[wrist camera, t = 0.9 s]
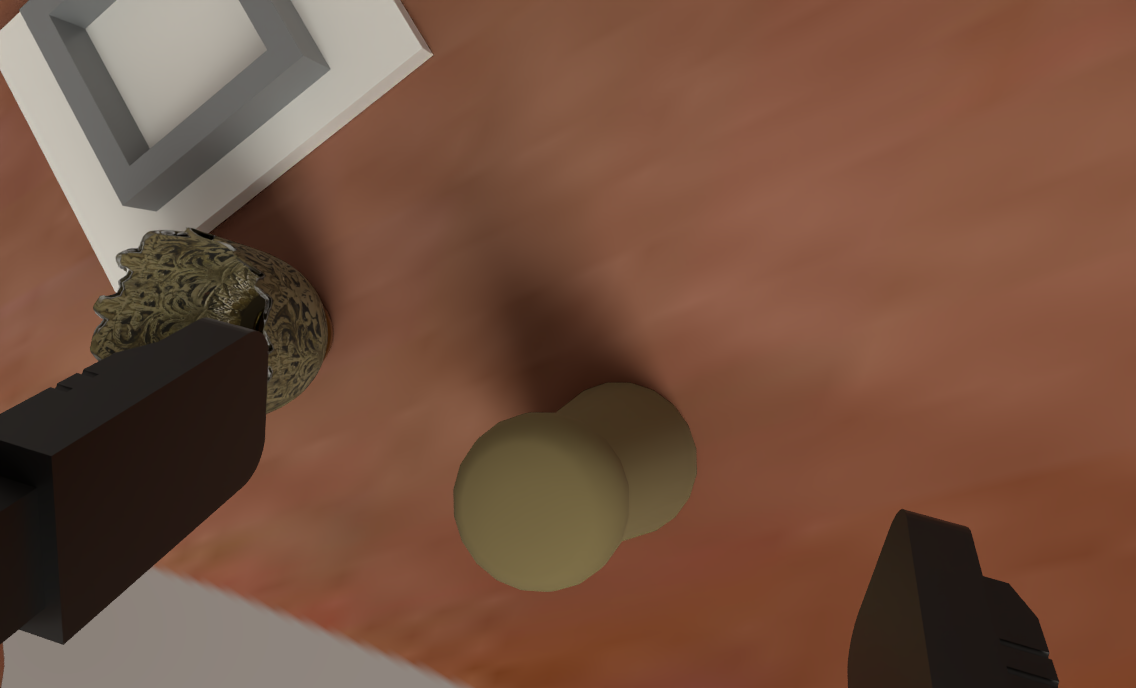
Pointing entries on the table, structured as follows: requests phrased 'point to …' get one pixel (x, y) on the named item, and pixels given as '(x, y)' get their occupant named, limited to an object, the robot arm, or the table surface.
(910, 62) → the table surface
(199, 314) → the cup
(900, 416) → the table surface
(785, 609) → the table surface
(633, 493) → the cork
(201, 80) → the socket board
